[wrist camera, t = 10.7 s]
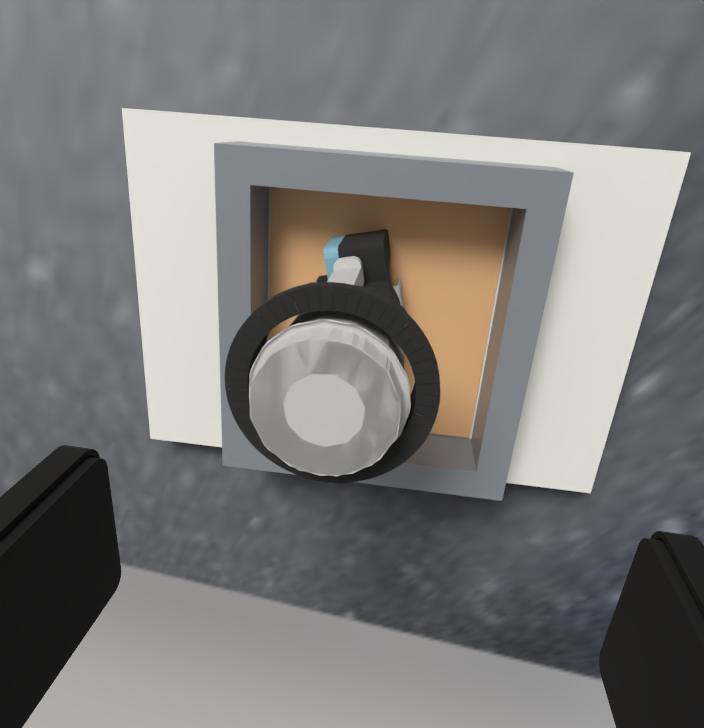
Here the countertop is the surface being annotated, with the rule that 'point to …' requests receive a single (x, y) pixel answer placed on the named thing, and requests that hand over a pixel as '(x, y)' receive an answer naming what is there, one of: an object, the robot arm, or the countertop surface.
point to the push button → (336, 370)
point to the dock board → (406, 276)
